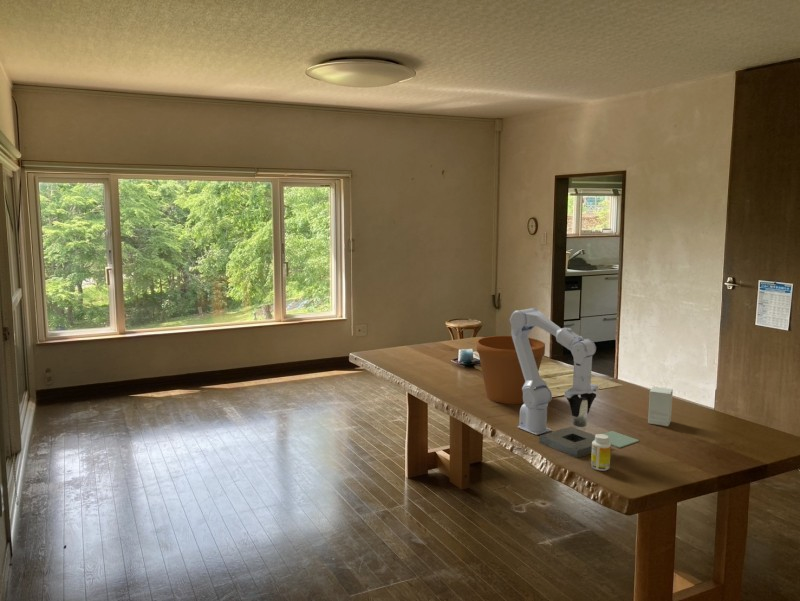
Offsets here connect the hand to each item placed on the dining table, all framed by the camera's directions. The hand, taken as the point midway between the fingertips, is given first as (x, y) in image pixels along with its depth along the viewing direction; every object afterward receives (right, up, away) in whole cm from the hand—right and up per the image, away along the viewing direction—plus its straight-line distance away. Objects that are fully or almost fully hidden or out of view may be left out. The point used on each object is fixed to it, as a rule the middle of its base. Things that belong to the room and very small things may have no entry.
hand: (580, 414), depth 210 cm
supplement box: (+37, -7, +24) cm, 44 cm away
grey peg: (0, -3, 0) cm, 3 cm away
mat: (+14, -10, +6) cm, 18 cm away
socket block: (-2, -10, +1) cm, 11 cm away
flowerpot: (-15, -3, +54) cm, 56 cm away
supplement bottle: (+1, -13, -17) cm, 22 cm away
